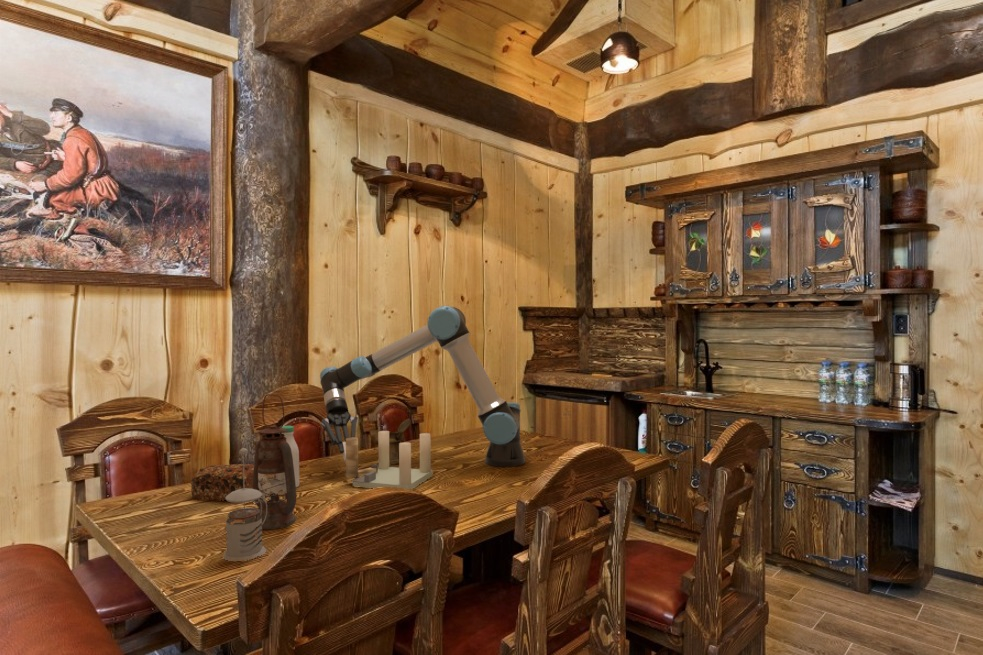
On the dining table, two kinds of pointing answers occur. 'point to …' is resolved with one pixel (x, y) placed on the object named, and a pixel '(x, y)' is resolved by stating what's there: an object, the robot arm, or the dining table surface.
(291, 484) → the lantern
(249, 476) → the bread
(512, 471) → the dining table surface
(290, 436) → the milk bottle
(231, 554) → the french press
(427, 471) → the stool top
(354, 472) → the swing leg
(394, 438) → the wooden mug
